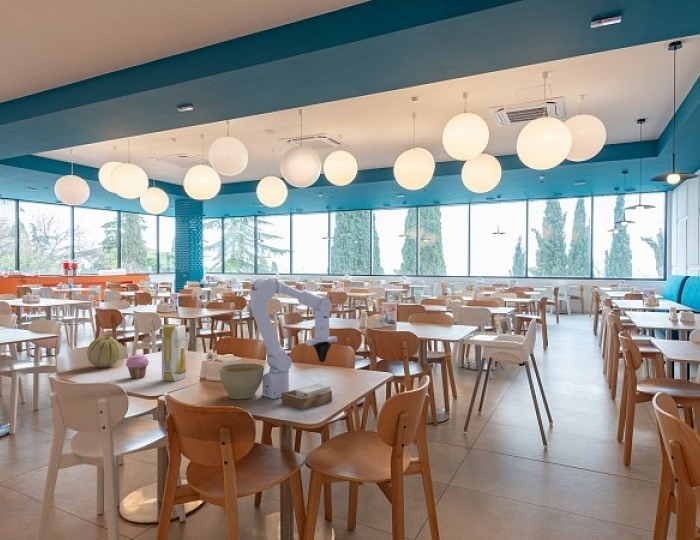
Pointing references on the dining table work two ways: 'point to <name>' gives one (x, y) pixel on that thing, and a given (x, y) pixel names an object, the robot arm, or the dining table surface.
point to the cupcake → (137, 365)
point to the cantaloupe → (103, 352)
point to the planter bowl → (241, 379)
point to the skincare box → (312, 390)
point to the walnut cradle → (305, 399)
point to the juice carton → (173, 352)
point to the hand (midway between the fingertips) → (322, 361)
